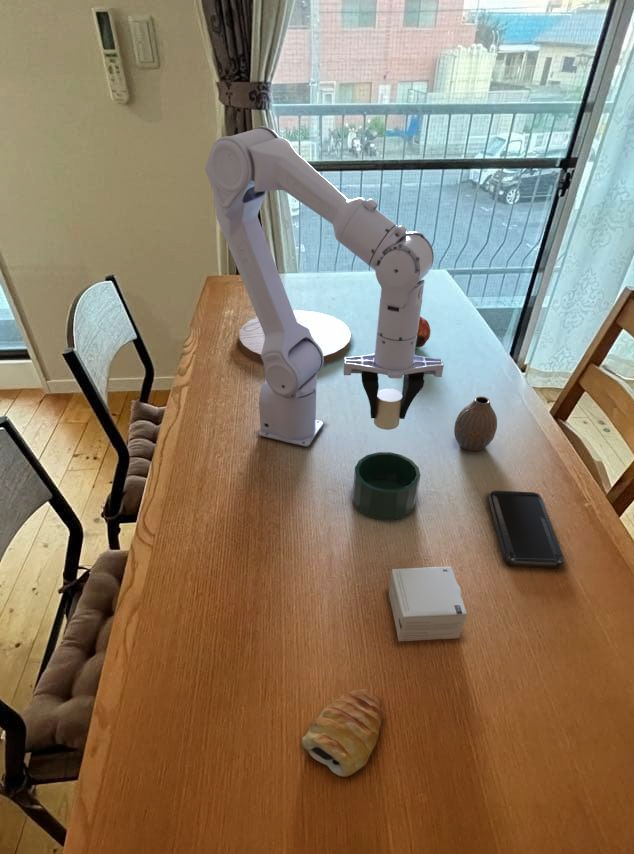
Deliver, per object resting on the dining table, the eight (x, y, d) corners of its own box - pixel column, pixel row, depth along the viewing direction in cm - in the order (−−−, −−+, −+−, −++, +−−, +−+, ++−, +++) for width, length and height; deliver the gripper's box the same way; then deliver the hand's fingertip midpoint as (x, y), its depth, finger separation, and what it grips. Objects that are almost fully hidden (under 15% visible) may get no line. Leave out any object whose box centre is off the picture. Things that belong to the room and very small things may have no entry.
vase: (491, 458, 94) (505, 413, 88) (450, 453, 95) (460, 408, 89) (490, 435, 99) (503, 391, 93) (451, 431, 100) (461, 387, 94)
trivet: (249, 374, 114) (248, 365, 113) (232, 323, 131) (231, 315, 130) (364, 361, 118) (365, 352, 117) (333, 313, 136) (334, 306, 134)
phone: (507, 560, 75) (489, 490, 86) (505, 566, 76) (487, 495, 87) (566, 563, 75) (540, 492, 86) (563, 568, 76) (538, 497, 87)
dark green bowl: (344, 510, 84) (346, 482, 81) (363, 474, 91) (366, 446, 87) (405, 526, 82) (410, 498, 78) (421, 488, 88) (426, 460, 84)
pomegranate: (426, 364, 122) (437, 323, 123) (421, 347, 115) (433, 304, 116) (393, 361, 125) (405, 320, 126) (387, 344, 118) (399, 301, 119)
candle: (370, 426, 88) (373, 398, 85) (377, 414, 91) (380, 386, 87) (395, 432, 87) (399, 403, 84) (401, 419, 90) (405, 391, 86)
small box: (386, 593, 73) (391, 567, 69) (445, 591, 73) (453, 564, 70) (397, 642, 67) (402, 617, 64) (460, 640, 68) (469, 614, 64)
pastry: (344, 685, 63) (347, 666, 60) (397, 716, 61) (401, 699, 58) (297, 750, 58) (297, 733, 55) (352, 788, 55) (354, 773, 52)
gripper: (346, 343, 76) (341, 428, 85) (453, 345, 75) (436, 430, 85) (345, 321, 81) (341, 404, 90) (445, 323, 80) (430, 405, 90)
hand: (387, 415), depth 88 cm, fingers closed on candle, 4 cm apart
